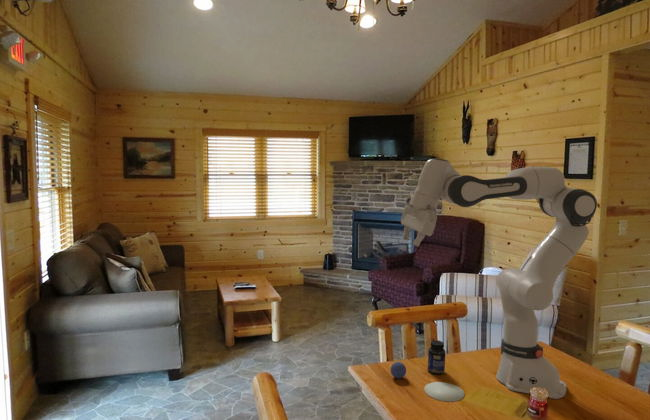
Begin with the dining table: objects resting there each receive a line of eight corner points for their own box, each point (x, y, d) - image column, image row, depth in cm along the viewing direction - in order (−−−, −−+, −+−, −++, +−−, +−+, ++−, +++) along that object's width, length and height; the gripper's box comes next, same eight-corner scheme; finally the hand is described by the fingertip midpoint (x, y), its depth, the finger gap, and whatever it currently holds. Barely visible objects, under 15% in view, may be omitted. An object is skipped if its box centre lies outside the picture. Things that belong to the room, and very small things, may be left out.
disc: (469, 389, 154) (469, 389, 154) (456, 405, 143) (456, 405, 143) (433, 379, 161) (433, 378, 161) (418, 393, 151) (418, 392, 151)
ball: (408, 376, 163) (409, 362, 162) (401, 382, 158) (402, 367, 158) (394, 372, 166) (395, 358, 165) (387, 378, 161) (388, 363, 161)
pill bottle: (432, 376, 164) (433, 346, 163) (424, 368, 169) (425, 340, 168) (447, 374, 165) (449, 345, 164) (439, 367, 171) (440, 338, 170)
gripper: (445, 211, 144) (431, 252, 145) (420, 203, 164) (407, 239, 165) (428, 205, 142) (413, 246, 143) (404, 198, 162) (392, 234, 163)
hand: (410, 242), depth 154 cm, fingers open, 8 cm apart
